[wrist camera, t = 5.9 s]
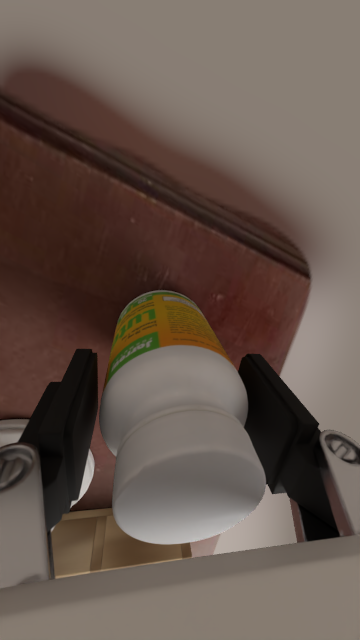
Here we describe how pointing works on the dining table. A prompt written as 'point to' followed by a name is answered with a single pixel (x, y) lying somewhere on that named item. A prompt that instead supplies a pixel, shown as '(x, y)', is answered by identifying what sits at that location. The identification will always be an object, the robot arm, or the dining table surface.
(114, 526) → the grid
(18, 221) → the dining table surface
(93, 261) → the dining table surface
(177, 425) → the supplement bottle
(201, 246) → the dining table surface
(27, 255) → the dining table surface
